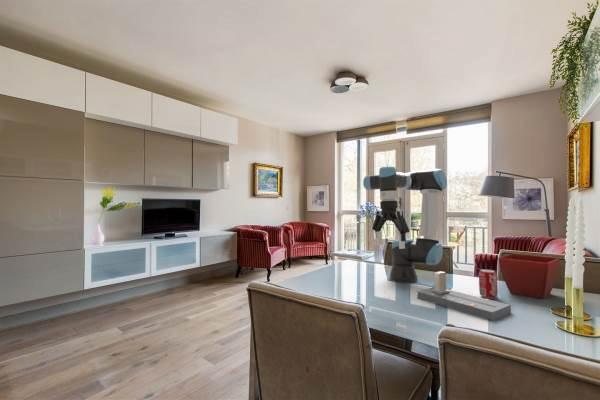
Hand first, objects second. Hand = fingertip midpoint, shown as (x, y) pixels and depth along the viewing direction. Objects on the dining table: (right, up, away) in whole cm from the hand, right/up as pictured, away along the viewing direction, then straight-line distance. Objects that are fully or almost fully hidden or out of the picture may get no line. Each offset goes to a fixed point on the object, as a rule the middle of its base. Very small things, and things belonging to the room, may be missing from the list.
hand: (390, 246), depth 131 cm
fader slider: (+23, -21, 0) cm, 31 cm away
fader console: (+28, -23, -8) cm, 37 cm away
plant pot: (+68, -23, +5) cm, 72 cm away
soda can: (+46, -24, +2) cm, 52 cm away
